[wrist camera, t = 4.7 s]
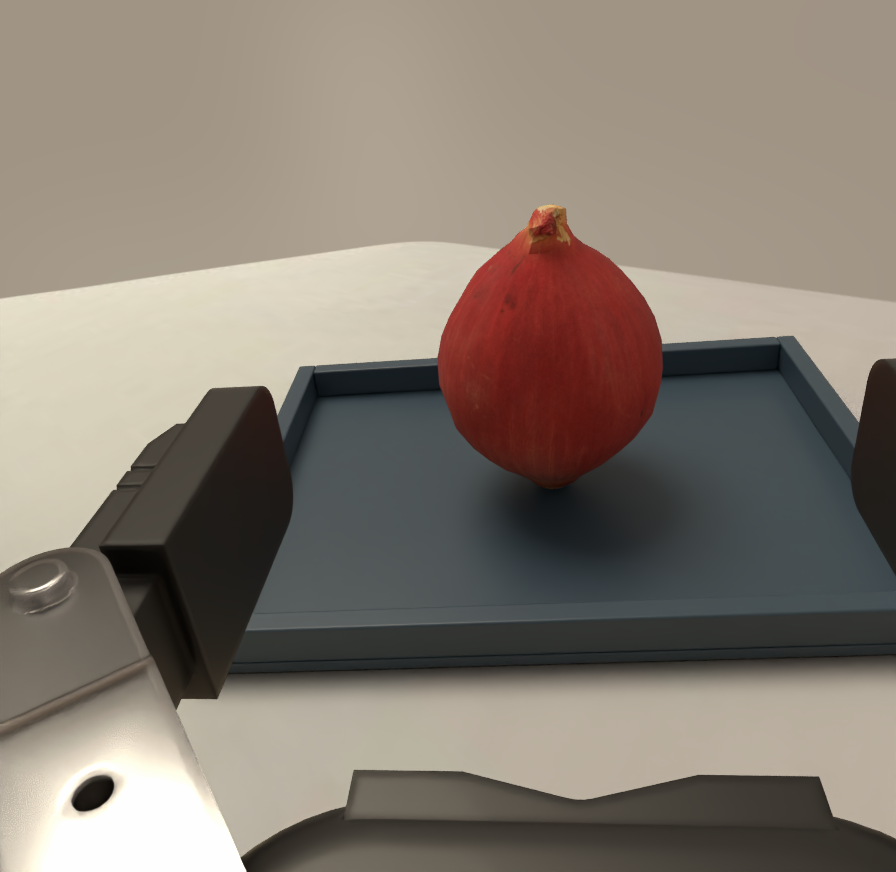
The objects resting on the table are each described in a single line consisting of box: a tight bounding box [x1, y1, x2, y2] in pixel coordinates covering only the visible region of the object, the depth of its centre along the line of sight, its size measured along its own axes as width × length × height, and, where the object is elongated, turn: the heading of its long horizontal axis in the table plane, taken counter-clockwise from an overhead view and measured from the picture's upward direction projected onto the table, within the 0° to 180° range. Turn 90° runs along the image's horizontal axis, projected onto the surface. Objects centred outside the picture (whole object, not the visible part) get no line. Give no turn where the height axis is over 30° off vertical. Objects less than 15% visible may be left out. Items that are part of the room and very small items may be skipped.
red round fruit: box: [437, 205, 663, 489], centre depth 21 cm, size 6×6×8 cm
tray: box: [228, 336, 896, 673], centre depth 23 cm, size 17×13×1 cm
